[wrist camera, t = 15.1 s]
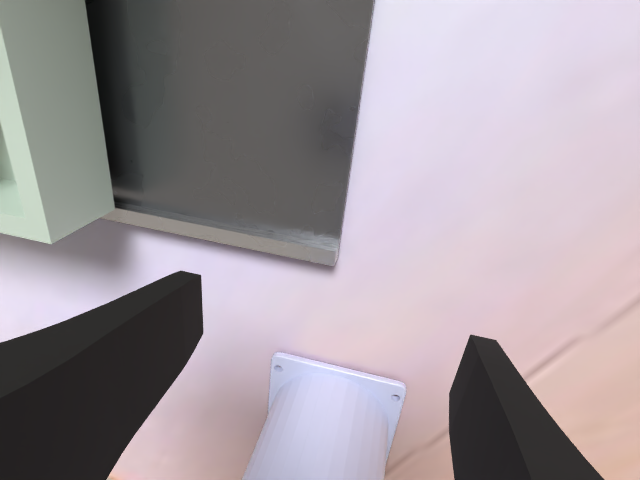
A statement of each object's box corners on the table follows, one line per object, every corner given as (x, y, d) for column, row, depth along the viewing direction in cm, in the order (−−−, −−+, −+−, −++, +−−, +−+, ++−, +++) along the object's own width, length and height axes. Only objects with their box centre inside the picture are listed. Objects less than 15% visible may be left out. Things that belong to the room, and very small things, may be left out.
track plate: (337, 256, 20) (333, 268, 19) (-110, 166, 25) (-134, 171, 24) (398, -168, 13) (396, -187, 12) (-257, -196, 17) (-301, -211, 16)
